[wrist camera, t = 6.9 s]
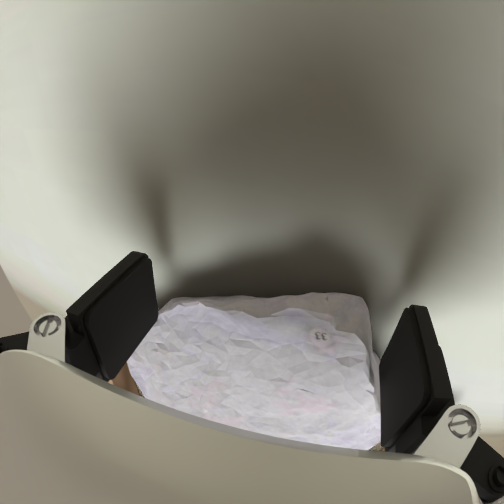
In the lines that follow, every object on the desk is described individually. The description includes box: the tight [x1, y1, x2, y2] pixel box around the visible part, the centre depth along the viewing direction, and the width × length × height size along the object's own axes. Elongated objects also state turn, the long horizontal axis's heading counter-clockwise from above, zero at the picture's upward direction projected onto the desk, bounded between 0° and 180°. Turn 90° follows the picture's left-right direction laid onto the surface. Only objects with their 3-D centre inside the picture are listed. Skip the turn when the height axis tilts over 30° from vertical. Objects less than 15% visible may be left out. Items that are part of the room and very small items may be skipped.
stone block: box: [127, 292, 381, 450], centre depth 13 cm, size 12×5×10 cm
